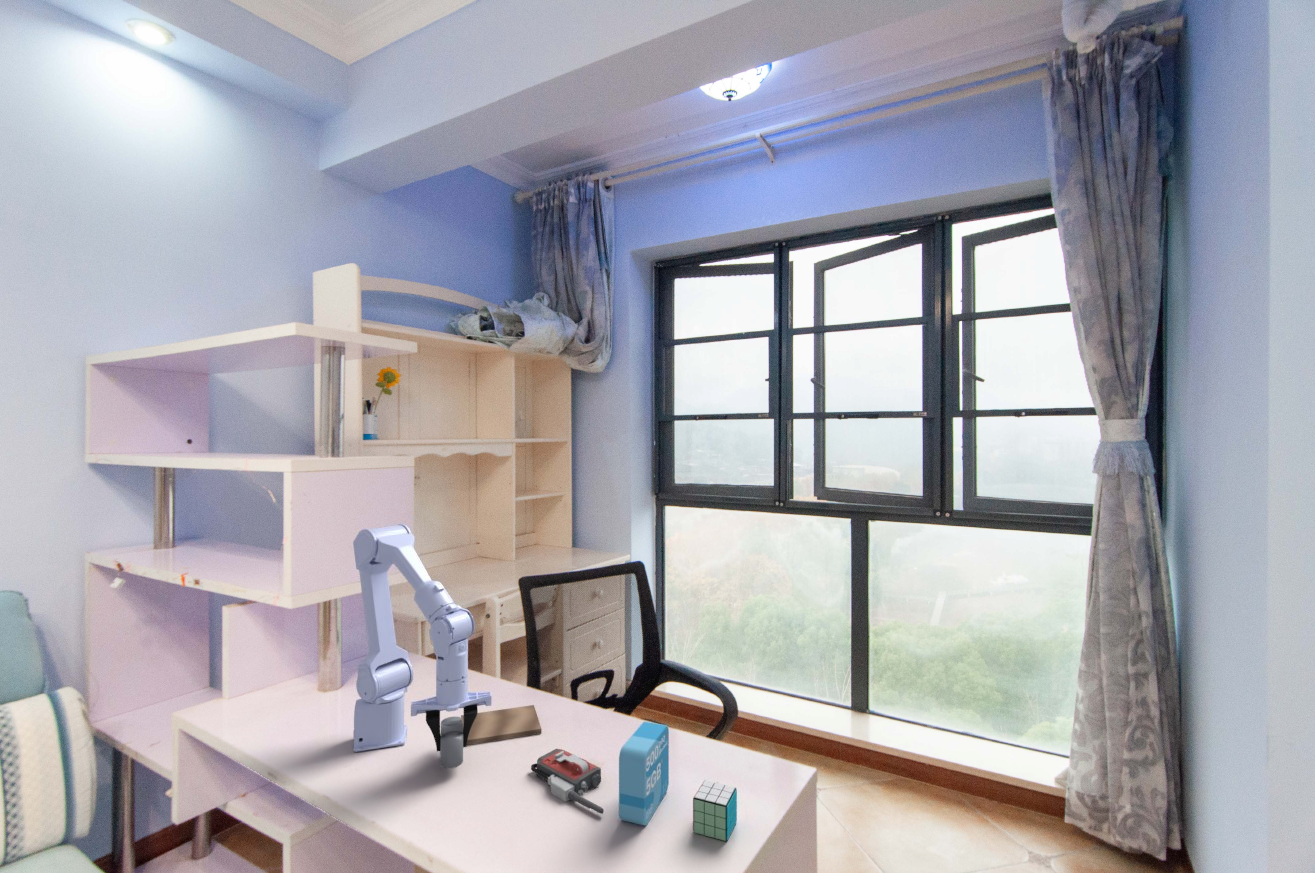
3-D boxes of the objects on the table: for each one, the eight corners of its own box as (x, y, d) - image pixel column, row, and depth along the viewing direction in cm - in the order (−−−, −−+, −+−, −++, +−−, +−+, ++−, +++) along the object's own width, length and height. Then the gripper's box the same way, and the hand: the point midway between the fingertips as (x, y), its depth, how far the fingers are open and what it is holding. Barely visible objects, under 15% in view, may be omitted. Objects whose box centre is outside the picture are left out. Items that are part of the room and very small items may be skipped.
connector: (440, 769, 110) (440, 742, 110) (441, 736, 122) (441, 711, 122) (463, 765, 111) (463, 738, 111) (461, 733, 123) (461, 709, 123)
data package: (644, 830, 96) (644, 755, 96) (618, 823, 98) (618, 749, 98) (669, 789, 107) (669, 722, 107) (645, 784, 109) (645, 717, 109)
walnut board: (462, 745, 122) (462, 740, 122) (460, 719, 134) (460, 715, 134) (541, 733, 128) (541, 728, 128) (533, 709, 139) (533, 704, 139)
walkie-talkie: (521, 779, 111) (598, 823, 98) (521, 755, 111) (598, 796, 98) (557, 759, 118) (633, 798, 105) (557, 736, 118) (633, 773, 105)
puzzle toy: (727, 842, 93) (726, 806, 93) (692, 833, 96) (692, 797, 96) (737, 821, 98) (737, 786, 98) (704, 812, 101) (704, 778, 101)
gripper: (409, 688, 109) (409, 763, 109) (492, 678, 114) (492, 750, 114) (412, 674, 116) (411, 745, 116) (490, 665, 120) (489, 733, 120)
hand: (451, 746), depth 115 cm, fingers closed on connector, 4 cm apart
